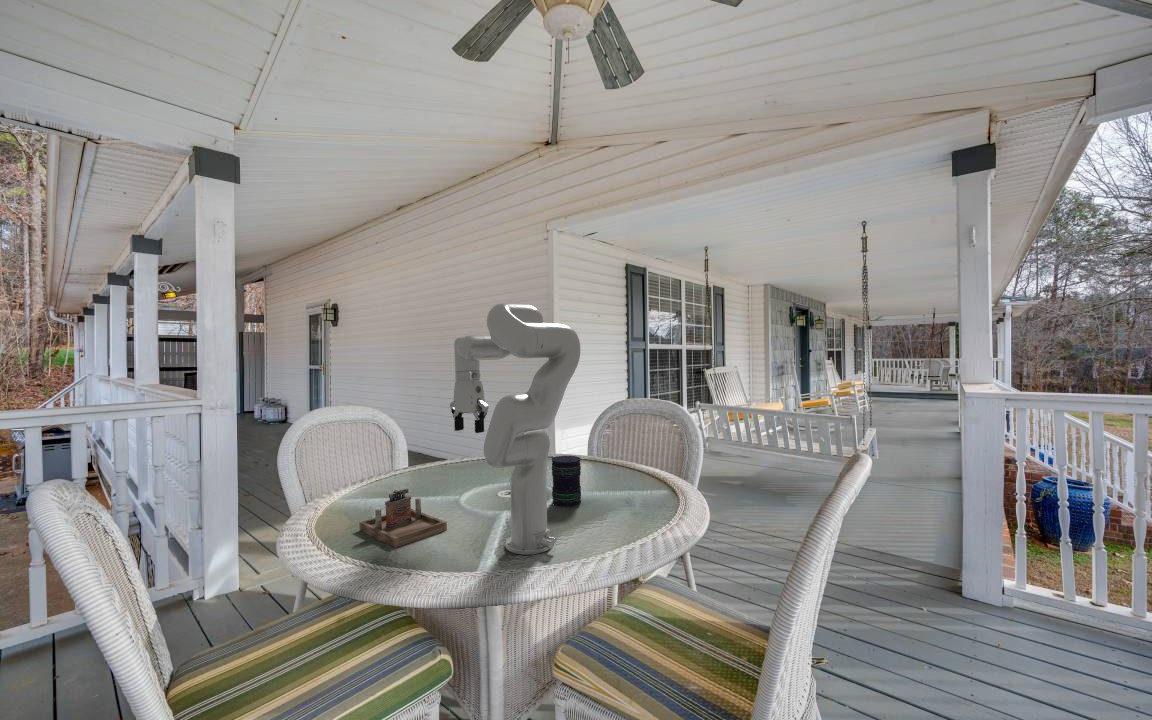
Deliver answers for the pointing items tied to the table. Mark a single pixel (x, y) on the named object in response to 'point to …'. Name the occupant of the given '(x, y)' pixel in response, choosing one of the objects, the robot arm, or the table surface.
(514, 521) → the robot arm
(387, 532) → the pin tray
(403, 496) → the lighter
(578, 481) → the storage jar
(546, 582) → the table surface
